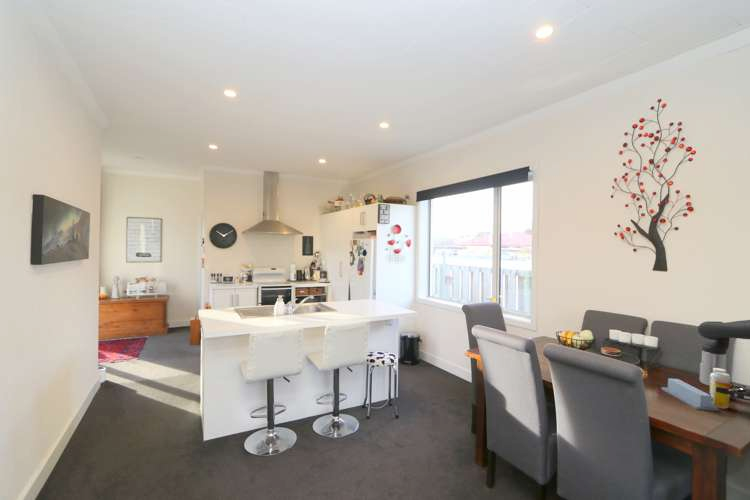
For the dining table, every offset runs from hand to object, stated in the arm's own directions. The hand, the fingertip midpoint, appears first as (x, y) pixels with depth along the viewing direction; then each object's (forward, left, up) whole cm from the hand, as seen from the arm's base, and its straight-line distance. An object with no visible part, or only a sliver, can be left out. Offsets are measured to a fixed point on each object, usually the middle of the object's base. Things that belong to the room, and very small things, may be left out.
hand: (715, 386), depth 163 cm
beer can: (+1, +1, -9) cm, 9 cm away
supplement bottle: (-12, +11, -9) cm, 19 cm away
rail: (-5, -8, -9) cm, 12 cm away
